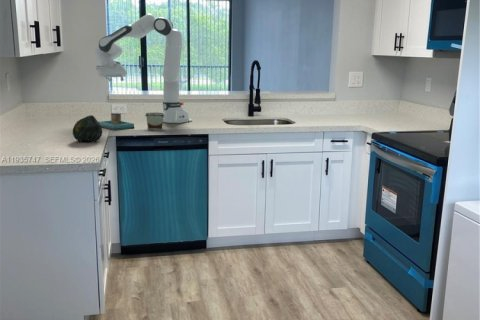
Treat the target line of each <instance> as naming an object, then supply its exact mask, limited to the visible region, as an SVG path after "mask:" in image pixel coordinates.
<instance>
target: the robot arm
mask: <svg viewBox="0 0 480 320" xmlns="http://www.w3.org/2000/svg"><path fill="white" fill-rule="evenodd" d="M152 31H155V32H156V33H158V34H160V35H162V36H163V37H165V39H166V41H165V49H164V58H163V59H164V60H163V70H162V77H163V92H162V93H163V101H162V113H163V114H164V116H163V123H169V124H171V123H174V124H182V123H188V121H189V122H192V121H193V119H192V118H190V117H189V112H188V111H187V110H185V109H184V108H183V107H182V106H184V105H185V103H184V102H183V101H182V102H180V68H181V58H182V57H181V56H182V51H183V50H182V47H183V35H182V32H181V31H180V30H178V29H175V28H174V25H173V22H172V21H171V20H170V19H168V18H166V17H162V16H161V17H160V16H159V17H157V18H156V17H155V15H153V14H152V13H147V14H145V15H143V16H141V17H140V18H139V19H137V20H136V21H134V22H132V23H130V24H127V25H124V26H122V27H119V29H117V30H116V31H115V30H114V31H113V32H112V33H111V34H110V33H109V35H107V36H106V35H105V36H103V37H101V38H100V40H99V41H98V46H97V47H96V48H95V55H96V58H97V60H98V62H99V63H100V65H96V67H95V69H96V71H97V74H98V77H99V78H105V79H106V80H108V82H112V81H113V79H112V78H120V81H121V82H124V81H125V79H124V78H125V77H126V76H127V73H128V72H127V70H126V68H125V67H124V66H123V65H122V64H123V63H121V61H117V60H116V59H117V58H119V57H120V56H121V55H122V53H123V52H122V51H123V48H122V46H121V45H120V44H118V43H117V42H119V41H120V40H122V39H124V38H126V37H128V38H134V39H142V38H144V37H145V36H147V35H148V34H149V33H151V32H152Z"/></svg>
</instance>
